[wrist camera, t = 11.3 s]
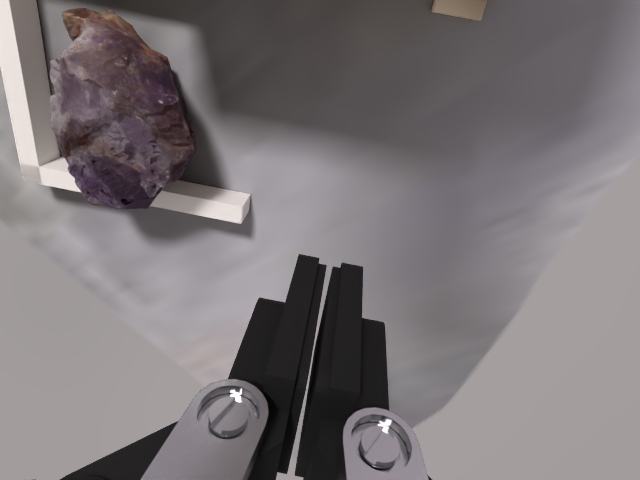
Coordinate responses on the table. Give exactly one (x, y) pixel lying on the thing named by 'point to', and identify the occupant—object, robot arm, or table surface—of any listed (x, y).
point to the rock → (117, 112)
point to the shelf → (460, 8)
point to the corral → (39, 139)
